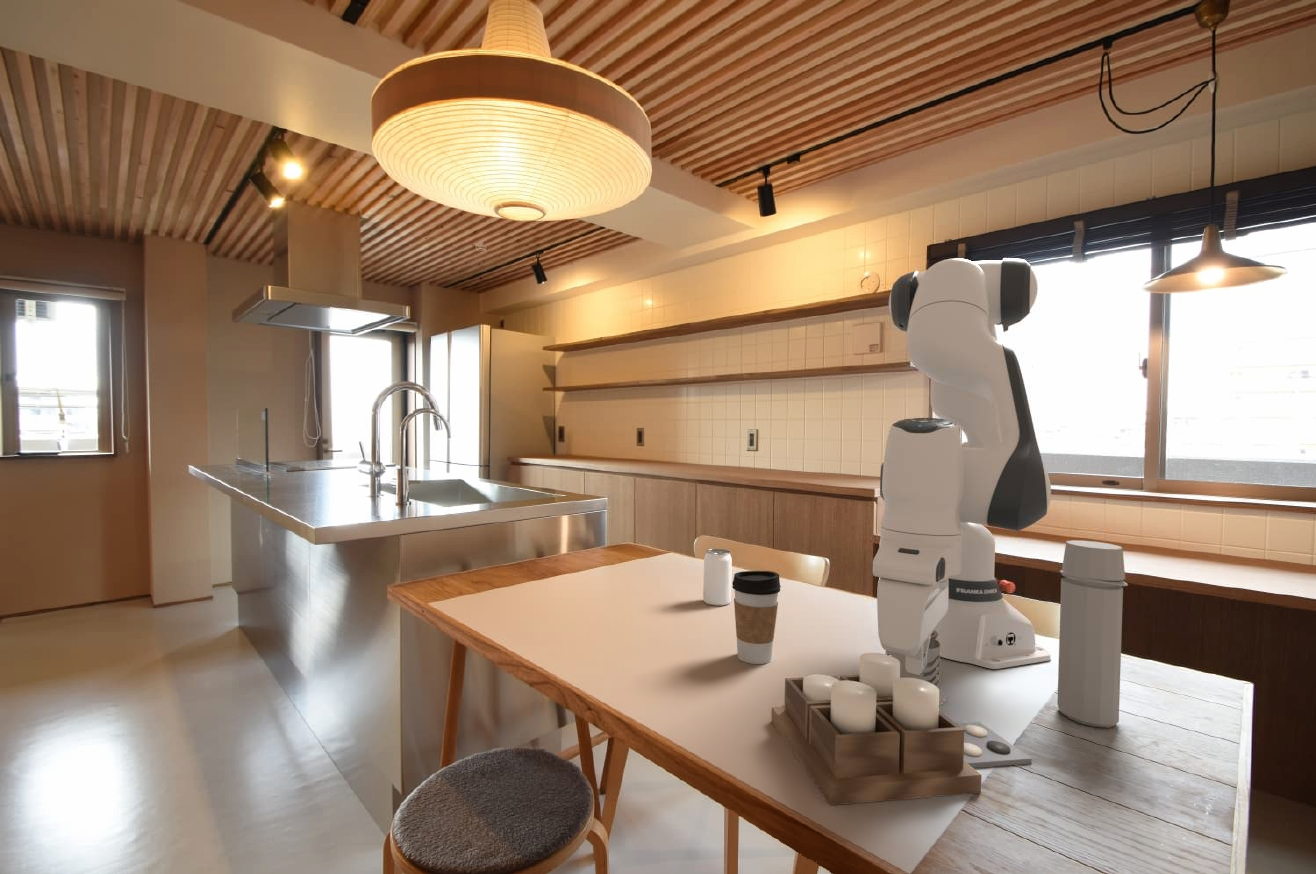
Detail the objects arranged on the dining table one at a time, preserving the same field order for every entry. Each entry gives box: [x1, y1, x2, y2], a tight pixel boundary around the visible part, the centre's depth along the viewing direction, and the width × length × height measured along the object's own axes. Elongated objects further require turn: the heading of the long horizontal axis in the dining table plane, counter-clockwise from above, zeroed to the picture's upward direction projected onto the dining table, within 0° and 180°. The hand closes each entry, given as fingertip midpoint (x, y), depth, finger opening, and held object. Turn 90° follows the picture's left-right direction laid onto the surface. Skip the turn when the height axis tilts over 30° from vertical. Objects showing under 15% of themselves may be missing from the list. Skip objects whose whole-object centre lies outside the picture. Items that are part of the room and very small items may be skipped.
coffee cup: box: [731, 570, 782, 665], centre depth 102 cm, size 8×8×15 cm
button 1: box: [803, 673, 839, 701], centre depth 75 cm, size 5×5×5 cm
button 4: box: [892, 678, 940, 731], centre depth 69 cm, size 5×5×5 cm
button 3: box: [858, 652, 900, 698], centre depth 77 cm, size 5×5×5 cm
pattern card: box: [955, 721, 1033, 769], centre depth 75 cm, size 9×9×1 cm
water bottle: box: [1056, 539, 1129, 728], centre depth 83 cm, size 9×8×25 cm
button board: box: [770, 674, 982, 806], centre depth 72 cm, size 18×18×6 cm
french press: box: [884, 630, 947, 706], centre depth 91 cm, size 10×12×25 cm
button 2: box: [830, 680, 876, 735], centre depth 68 cm, size 5×5×5 cm
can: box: [702, 548, 733, 607], centre depth 135 cm, size 6×6×12 cm
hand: (916, 669), depth 69 cm, fingers closed
